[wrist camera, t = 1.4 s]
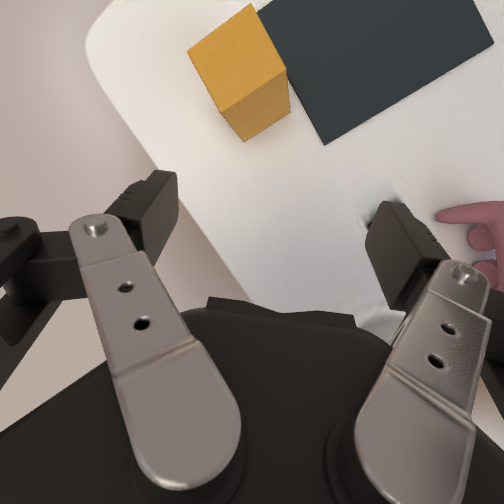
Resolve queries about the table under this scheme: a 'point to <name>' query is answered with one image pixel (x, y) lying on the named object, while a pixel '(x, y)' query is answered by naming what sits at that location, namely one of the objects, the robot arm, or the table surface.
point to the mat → (368, 52)
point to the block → (243, 73)
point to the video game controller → (483, 235)
